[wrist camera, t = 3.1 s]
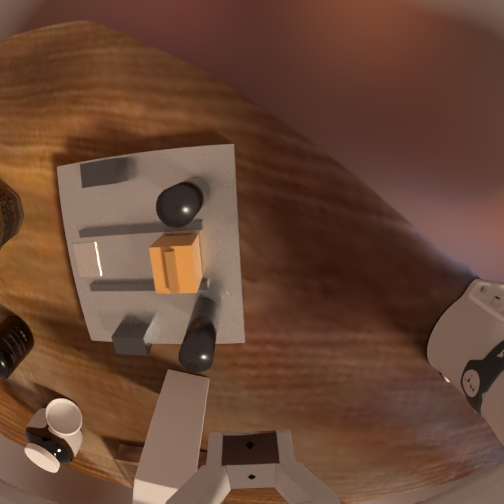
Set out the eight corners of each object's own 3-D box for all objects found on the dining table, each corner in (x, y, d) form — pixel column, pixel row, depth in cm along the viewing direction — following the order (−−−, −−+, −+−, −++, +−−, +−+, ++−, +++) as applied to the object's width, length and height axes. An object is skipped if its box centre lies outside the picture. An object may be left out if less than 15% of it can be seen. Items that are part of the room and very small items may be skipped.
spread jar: (49, 424, 46) (28, 463, 35) (31, 385, 43) (2, 425, 32) (99, 439, 47) (80, 483, 36) (83, 399, 43) (57, 447, 32)
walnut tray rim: (213, 452, 47) (212, 469, 43) (223, 492, 52) (223, 507, 48) (120, 443, 47) (114, 459, 43) (144, 485, 52) (141, 499, 48)
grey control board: (235, 144, 32) (228, 139, 20) (245, 329, 39) (244, 395, 27) (69, 164, 32) (6, 175, 20) (99, 328, 39) (61, 382, 27)
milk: (168, 368, 41) (126, 502, 20) (210, 377, 41) (191, 517, 20) (165, 397, 42) (130, 521, 21) (204, 405, 43) (186, 534, 22)
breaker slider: (198, 233, 31) (190, 247, 27) (202, 276, 33) (196, 295, 28) (160, 236, 31) (147, 249, 27) (165, 277, 33) (154, 296, 28)
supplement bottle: (20, 353, 41) (-16, 394, 29) (0, 319, 39) (-41, 356, 27) (42, 346, 40) (4, 391, 28) (20, 309, 38) (-24, 349, 26)
